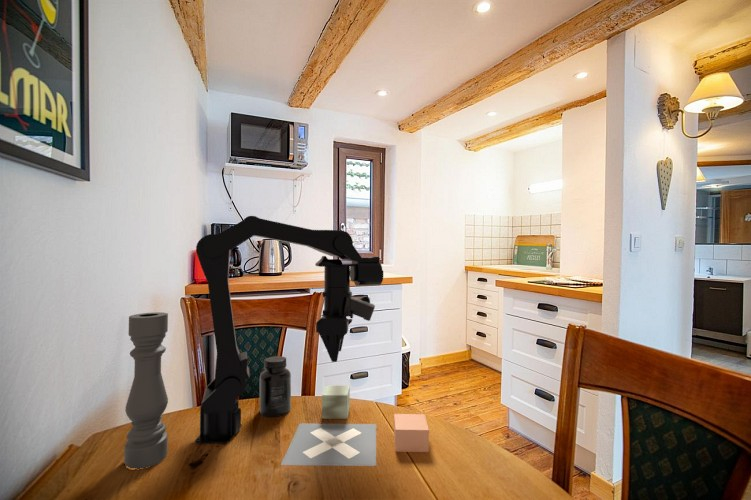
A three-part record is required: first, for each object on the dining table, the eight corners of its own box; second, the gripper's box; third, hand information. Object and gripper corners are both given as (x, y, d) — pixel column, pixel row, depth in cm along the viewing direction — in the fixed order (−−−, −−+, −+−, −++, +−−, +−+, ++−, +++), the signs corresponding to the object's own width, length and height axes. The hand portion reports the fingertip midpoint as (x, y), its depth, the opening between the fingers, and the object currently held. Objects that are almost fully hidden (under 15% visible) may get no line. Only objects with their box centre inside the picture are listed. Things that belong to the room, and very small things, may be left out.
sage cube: (321, 420, 73) (322, 395, 73) (325, 409, 78) (325, 385, 78) (347, 421, 73) (347, 395, 73) (349, 409, 78) (349, 385, 78)
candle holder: (175, 450, 61) (177, 312, 61) (146, 472, 55) (149, 319, 55) (146, 447, 62) (148, 311, 63) (114, 468, 56) (117, 317, 56)
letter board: (280, 467, 56) (280, 464, 56) (299, 425, 70) (299, 423, 70) (376, 468, 56) (376, 465, 56) (376, 425, 70) (376, 423, 70)
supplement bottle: (294, 406, 79) (295, 355, 80) (284, 420, 73) (284, 364, 73) (267, 404, 80) (267, 354, 80) (253, 418, 73) (254, 363, 74)
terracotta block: (395, 454, 60) (395, 429, 60) (394, 436, 66) (394, 413, 66) (428, 455, 60) (428, 430, 60) (424, 437, 66) (424, 414, 66)
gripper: (372, 291, 66) (371, 370, 66) (373, 283, 85) (373, 345, 85) (315, 290, 66) (315, 370, 66) (329, 283, 85) (329, 345, 85)
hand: (336, 356), depth 76 cm, fingers open, 8 cm apart
